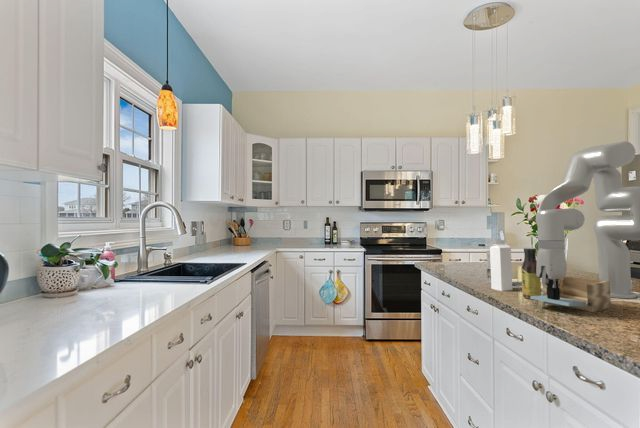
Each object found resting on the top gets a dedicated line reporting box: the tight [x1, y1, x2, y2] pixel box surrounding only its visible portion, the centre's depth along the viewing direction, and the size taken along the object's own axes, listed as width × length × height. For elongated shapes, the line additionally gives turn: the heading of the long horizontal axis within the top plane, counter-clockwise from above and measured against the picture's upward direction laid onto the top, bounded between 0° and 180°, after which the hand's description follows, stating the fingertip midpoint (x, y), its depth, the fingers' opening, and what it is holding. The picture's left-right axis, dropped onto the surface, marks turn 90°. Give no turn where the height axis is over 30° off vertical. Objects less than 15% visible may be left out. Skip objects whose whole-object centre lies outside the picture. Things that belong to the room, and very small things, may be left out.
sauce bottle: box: [521, 247, 542, 301], centre depth 133 cm, size 6×6×20 cm
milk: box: [489, 239, 513, 292], centre depth 151 cm, size 6×6×22 cm
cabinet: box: [542, 275, 612, 313], centre depth 121 cm, size 12×16×9 cm
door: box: [529, 295, 586, 307], centre depth 117 cm, size 10×12×2 cm
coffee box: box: [486, 250, 491, 285], centre depth 164 cm, size 9×6×16 cm
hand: (553, 298), depth 116 cm, fingers closed
